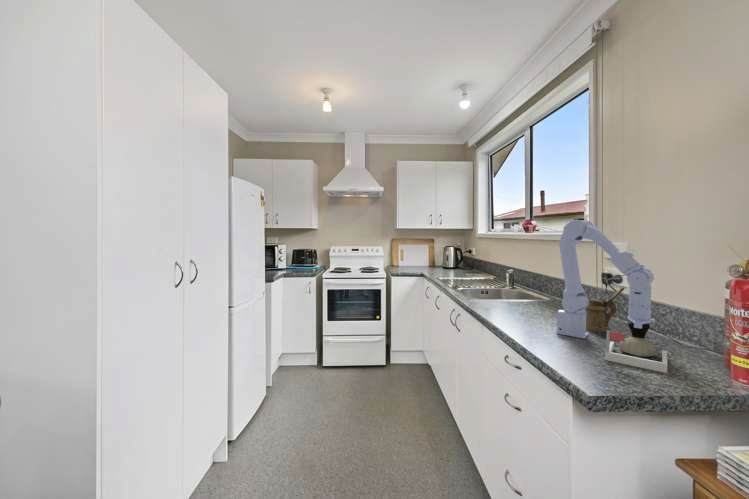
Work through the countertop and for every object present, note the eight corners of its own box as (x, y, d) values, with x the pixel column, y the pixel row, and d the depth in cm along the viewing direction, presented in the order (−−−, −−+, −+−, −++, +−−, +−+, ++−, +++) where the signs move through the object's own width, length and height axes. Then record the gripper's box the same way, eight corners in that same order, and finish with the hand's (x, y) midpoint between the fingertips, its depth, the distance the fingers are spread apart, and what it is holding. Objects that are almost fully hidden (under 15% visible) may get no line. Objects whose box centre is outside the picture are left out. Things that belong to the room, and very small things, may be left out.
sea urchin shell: (667, 353, 97) (646, 334, 98) (645, 370, 99) (624, 350, 100) (648, 343, 106) (629, 326, 107) (628, 358, 107) (610, 341, 108)
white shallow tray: (605, 360, 97) (606, 331, 97) (610, 348, 107) (611, 322, 107) (667, 373, 88) (668, 341, 88) (666, 359, 98) (667, 330, 98)
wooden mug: (622, 335, 121) (624, 289, 120) (580, 329, 129) (582, 285, 128) (622, 330, 128) (624, 286, 127) (582, 324, 136) (584, 283, 135)
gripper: (655, 310, 98) (653, 353, 99) (655, 303, 109) (653, 342, 110) (626, 307, 103) (624, 348, 103) (629, 300, 114) (627, 337, 114)
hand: (638, 344), depth 107 cm, fingers closed
